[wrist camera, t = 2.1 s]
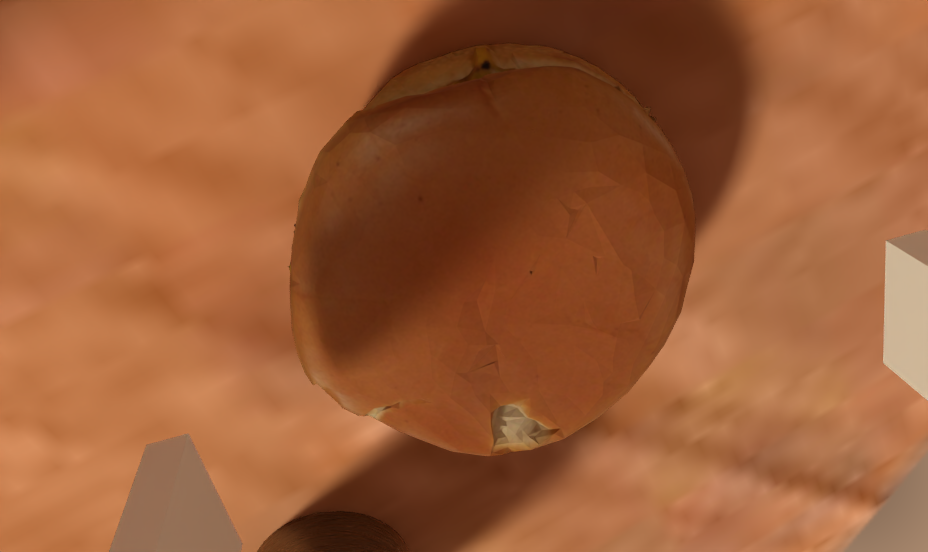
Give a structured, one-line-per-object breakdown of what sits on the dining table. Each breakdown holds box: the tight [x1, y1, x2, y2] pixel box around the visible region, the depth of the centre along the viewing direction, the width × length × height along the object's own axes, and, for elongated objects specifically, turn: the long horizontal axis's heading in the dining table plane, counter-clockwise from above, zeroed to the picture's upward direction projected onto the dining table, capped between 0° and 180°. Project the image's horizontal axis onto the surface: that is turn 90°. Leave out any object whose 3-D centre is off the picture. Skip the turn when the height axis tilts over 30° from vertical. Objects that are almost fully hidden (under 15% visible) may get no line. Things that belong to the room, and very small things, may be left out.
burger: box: [289, 43, 696, 456], centre depth 18 cm, size 10×9×5 cm
